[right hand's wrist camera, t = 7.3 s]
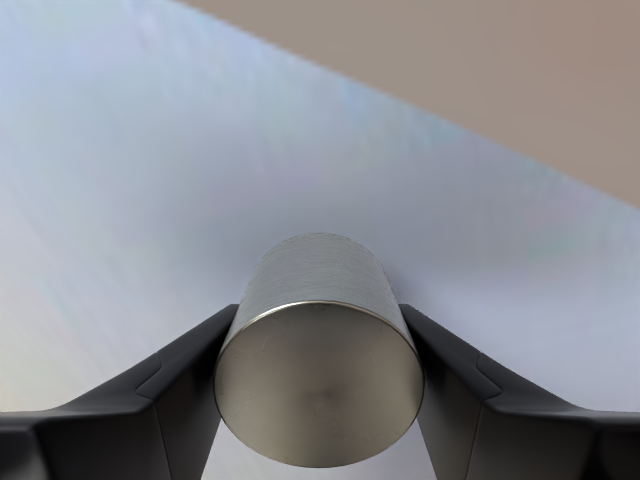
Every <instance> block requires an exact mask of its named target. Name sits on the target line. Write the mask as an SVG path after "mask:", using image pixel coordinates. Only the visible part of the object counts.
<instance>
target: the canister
mask: <svg viewBox="0 0 640 480" xmlns="http://www.w3.org/2000/svg"><path fill="white" fill-rule="evenodd" d="M424 390H425V377H424V369H423V366H422V362H421V359H420V357H419V354H418V352H417V349H416V347H415V344H414V342H413V340H412V337H411V335H410V332H409V330H408V327H407V325H406V323H405V320H404V318H403V315H402V313H401V310H400V308H399V306H398V303H397V301H396V298H395V296H394V294H393V291H392V289H391V286H390V284H389V281H388V279H387V277H386V274H385V272H384V270H383V268H382V266H381V265H380V263H379V262H378V260H377V259H376V258H375V257H374V256H373V254H372V253H370V252H369V251H368V250H367V249H366V248H364V247H363V246H361V245H360V244H358V243H357V242H355V241H353V240H350V239H348V238H345V237H342V236H339V235H334V234H328V233H310V234H304V235H299V236H296V237H293V238H290V239H288V240H286V241H284V242H282V243H280V244H278V245H277V246H275V247H274V248H273V249H271V250H270V251H269V252H268V253H267V254H266V255H265V256H264V257H263V258H262V259H261V261H260V262H259V264H258V265H257V267H256V269H255V271H254V273H253V275H252V277H251V280H250V282H249V284H248V287H247V289H246V291H245V294H244V296H243V298H242V301H241V303H240V306H239V308H238V310H237V313H236V315H235V317H234V320H233V322H232V324H231V327H230V329H229V332H228V334H227V336H226V339H225V341H224V343H223V346H222V348H221V350H220V353H219V355H218V358H217V361H216V364H215V367H214V373H213V394H214V399H215V403H216V406H217V409H218V411H219V414H220V416H221V417H222V419H223V421H224V423H225V424H226V425H227V427H228V428H229V429H230V431H231V432H232V433H233V434H234V435H235V436H236V437H237V438H238V439H239V440H240V441H241V442H243V443H244V444H245V445H247V446H248V447H249V448H251V449H252V450H254V451H256V452H257V453H259V454H261V455H263V456H265V457H268V458H270V459H272V460H275V461H278V462H281V463H285V464H289V465H293V466H300V467H308V468H331V467H338V466H344V465H349V464H353V463H357V462H360V461H363V460H366V459H368V458H370V457H372V456H375V455H377V454H379V453H380V452H382V451H384V450H385V449H387V448H388V447H390V446H391V445H392V444H394V443H395V442H396V441H398V440H399V439H400V438H401V437H402V436H403V435H404V434H405V433H406V431H407V430H408V429H409V428H410V426H411V425H412V424H413V422H414V420H415V419H416V417H417V415H418V413H419V410H420V408H421V405H422V401H423V397H424Z"/></svg>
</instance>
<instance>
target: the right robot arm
mask: <svg viewBox="0 0 640 480" xmlns="http://www.w3.org/2000/svg"><path fill="white" fill-rule="evenodd" d="M239 306H240V304H230V305H229V306H227V307H225V308H224V309H222V310H221V311H219V312H218V313H216V314H215V315H213V316H211V317H210V318H208V319H207V320H205V321H204V322H202V323H201V324H199V325H198V326H196V327H194V328H193V329H191V330H190V331H188V332H187V333H185V334H184V335H182V336H180V337H179V338H177V339H176V340H174V341H173V342H171V343H170V344H168V345H167V346H165V347H163V348H162V349H160V350H159V351H157V353H154V354H152V355H151V356H149V357H148V358H146V359H145V360H143V361H141V362H140V363H138V364H137V365H135V366H133V367H132V368H130V369H128V370H126V371H125V372H123V373H121V374H119V375H118V376H116V377H114V378H112V379H110V380H109V381H107V382H105V383H103V384H101V385H100V386H98V387H96V388H94V389H92V390H90V391H89V392H87V393H85V394H83V395H81V396H80V397H78V398H76V399H74V400H72V401H70V402H68V403H66V404H64V405H61V406H59V407H56V408H52V409H48V410H43V411H23V412H0V480H201V477H202V474H203V471H204V468H205V465H206V462H207V459H208V456H209V453H210V450H211V447H212V444H213V441H214V438H215V435H216V432H217V429H218V426H219V423H220V420H221V416H220V414H219V411H218V409H217V406H216V403H215V399H214V394H213V373H214V367H215V364H216V361H217V358H218V355H219V353H220V350H221V348H222V346H223V343H224V341H225V339H226V336H227V334H228V332H229V329H230V327H231V324H232V322H233V320H234V317H235V315H236V313H237V310H238V308H239ZM398 306H399V308H400V310H401V313H402V315H403V318H404V320H405V323H406V325H407V327H408V330H409V332H410V335H411V337H412V340H413V342H414V344H415V347H416V349H417V352H418V354H419V357H420V359H421V362H422V366H423V369H424V377H425V390H424V397H423V401H422V405H421V408H420V410H419V413H418V415H417V420H418V423H419V426H420V429H421V432H422V435H423V438H424V441H425V444H426V447H427V450H428V453H429V456H430V459H431V462H432V465H433V468H434V471H435V474H436V477H437V480H640V413H639V412H613V411H594V410H588V409H585V408H581V407H578V406H576V405H573V404H571V403H569V402H567V401H565V400H563V399H561V398H559V397H558V396H556V395H554V394H552V393H550V392H549V391H547V390H545V389H543V388H541V387H540V386H538V385H536V384H534V383H532V382H531V381H529V380H527V379H525V378H523V377H522V376H520V375H518V374H516V373H515V372H513V371H511V370H509V369H508V368H506V367H504V366H503V365H501V364H499V363H498V362H496V361H495V360H493V359H491V358H490V357H488V356H487V355H485V354H484V353H481V352H480V351H479V350H477V349H476V348H474V347H473V346H471V345H470V344H468V343H467V342H465V341H464V340H462V339H461V338H459V337H457V336H456V335H454V334H453V333H451V332H450V331H448V330H447V329H445V328H444V327H442V326H441V325H439V324H438V323H436V322H434V321H433V320H431V319H430V318H428V317H427V316H425V315H424V314H422V313H421V312H419V311H418V310H416V309H414V308H413V307H411V306H410V305H408V304H398Z"/></svg>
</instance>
